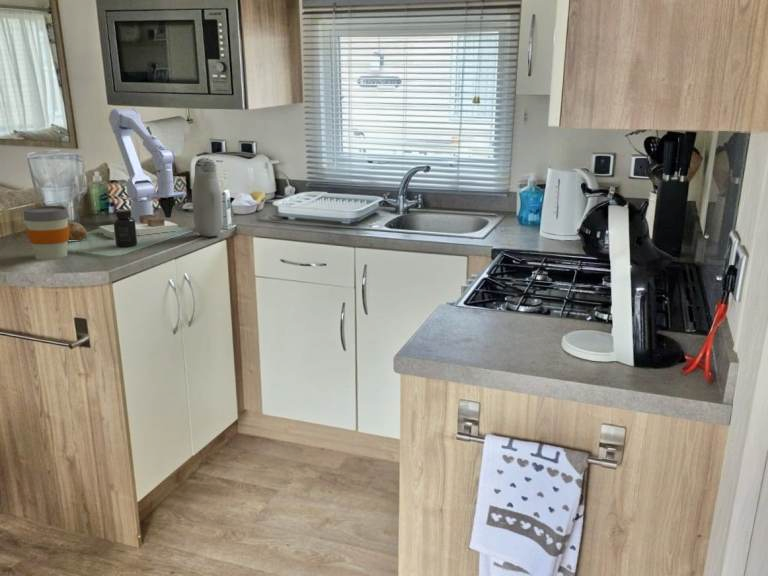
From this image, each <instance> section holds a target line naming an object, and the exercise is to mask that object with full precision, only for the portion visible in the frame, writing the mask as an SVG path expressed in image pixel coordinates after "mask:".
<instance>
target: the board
mask: <svg viewBox="0 0 768 576" xmlns="http://www.w3.org/2000/svg"><path fill="white" fill-rule="evenodd" d="M164 225H165V226H158V227H151V226H148V224H143V223H141V222H135V226H136V229H138V235H144V236H146V235H145V234H152V233H158V232H164V231H170V230H178V231H179V226H178V225H179V224H177V223H174V222H171V221H169V220H165V219H164ZM152 235H153V234H152Z"/></svg>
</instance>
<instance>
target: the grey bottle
mask: <svg viewBox="0 0 768 576" xmlns="http://www.w3.org/2000/svg"><path fill="white" fill-rule="evenodd" d="M217 168H218V167H217V164H216V162H215V160H214V159H212V158H210V157H203V158H198V159H197V160H196V161H195V164H194V176H193V177H194V178H193V183H192V187H191V201H192V209H193V210H192V211H193V214H192V215H193V225H194V227H195V230H196V232H197V233H198V234H200V235H201V236H203V237H207V238H210V237H211V238H212V237H215V236H218V235H219V234H220V233H221V231H222V230H223V229H222V227H223V201H222V190H221V189H222V187H221V183H220V179H219V174H218V169H217Z"/></svg>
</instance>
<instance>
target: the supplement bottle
mask: <svg viewBox="0 0 768 576" xmlns="http://www.w3.org/2000/svg"><path fill="white" fill-rule="evenodd" d="M115 217H116V218H114V220H113V225H114V232H115V239H114V241H115V245H116V247H117V248H133V247H136V246H137V245H138V236H136V226H135V220H134V219H133V218H132V217H131V209H117V210H115Z"/></svg>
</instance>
